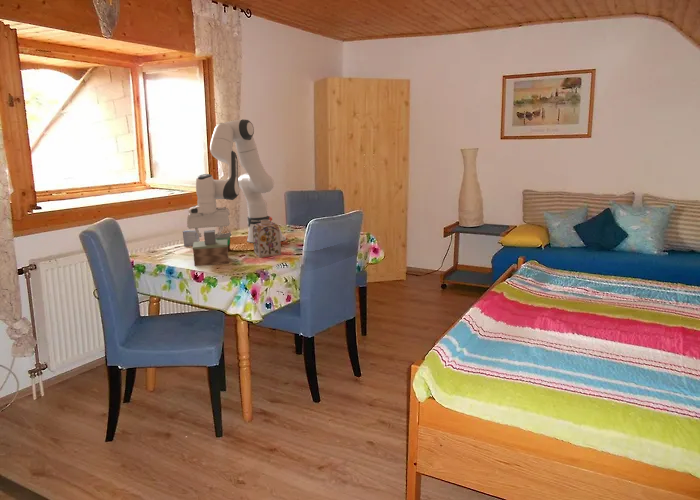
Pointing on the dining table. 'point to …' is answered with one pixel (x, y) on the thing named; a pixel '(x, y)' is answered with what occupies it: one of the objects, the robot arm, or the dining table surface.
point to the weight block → (209, 237)
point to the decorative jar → (266, 239)
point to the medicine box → (190, 237)
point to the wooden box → (210, 256)
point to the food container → (224, 238)
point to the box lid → (202, 245)
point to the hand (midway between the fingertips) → (209, 236)
